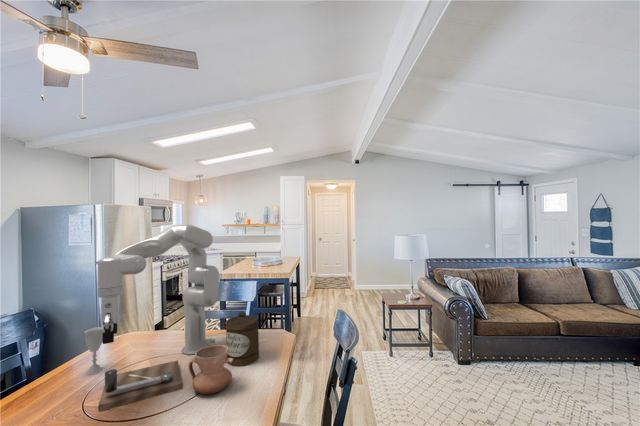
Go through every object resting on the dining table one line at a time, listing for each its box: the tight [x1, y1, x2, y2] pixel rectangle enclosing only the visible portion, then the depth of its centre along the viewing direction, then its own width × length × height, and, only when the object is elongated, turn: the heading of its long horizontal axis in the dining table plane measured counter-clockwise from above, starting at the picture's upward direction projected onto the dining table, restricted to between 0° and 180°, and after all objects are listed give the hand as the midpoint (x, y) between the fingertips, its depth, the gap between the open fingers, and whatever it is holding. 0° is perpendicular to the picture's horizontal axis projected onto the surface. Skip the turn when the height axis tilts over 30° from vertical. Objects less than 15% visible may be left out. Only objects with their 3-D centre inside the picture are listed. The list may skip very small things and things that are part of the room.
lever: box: [104, 368, 173, 396], centre depth 111 cm, size 22×4×8 cm, turn 120°
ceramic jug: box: [188, 344, 233, 395], centre depth 114 cm, size 18×14×14 cm
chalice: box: [83, 326, 103, 376], centre depth 128 cm, size 7×7×18 cm
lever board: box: [97, 359, 183, 412], centre depth 116 cm, size 26×22×2 cm
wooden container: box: [225, 310, 260, 367], centre depth 137 cm, size 15×15×22 cm
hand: (110, 338), depth 107 cm, fingers open, 9 cm apart
